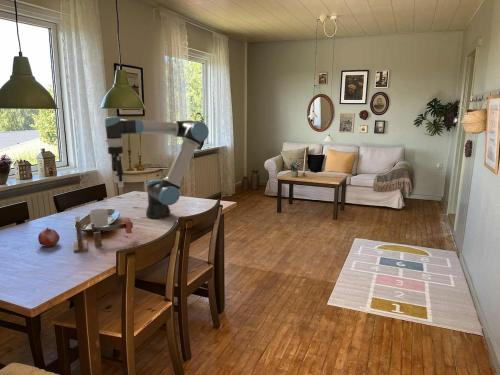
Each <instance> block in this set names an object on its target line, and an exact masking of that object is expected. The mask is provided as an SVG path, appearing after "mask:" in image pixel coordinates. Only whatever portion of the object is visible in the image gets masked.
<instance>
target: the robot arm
mask: <svg viewBox="0 0 500 375" xmlns="http://www.w3.org/2000/svg"><path fill="white" fill-rule="evenodd" d="M104 122H105V123H104V124H105V126H104V127H105V132H106V139H107V140H105V142H106V144H107V153H108V154H109V155H111V169H112V174H113V176H112V177H113V182H114V183H115V184H117V187H118V188H124V170H123V165H122V157H121V156H120V154H123V153H124V149H123V148H124V147H123V138H122V137H123V136H122V135H132V134H133V135H135V134H136V135H138V134H150V135H152V134H153V135H168V136H169V135H170V136H173V137H178V138H182V143H181V145H180V147H179V149H178V151H177V154H176V156H175V158H174V160H173V161H172V163H171V164H172V165H171V166H170V169H169V171H168V173H167V175H166V177H164V178H161V179H160V178H158V179H157V178H156V179H151V180H147V182H146V183H147V184H146V190H147V202H148V203H147V208H146V211H145V217H147V218H149V219H158V220H159V219H164V218H168V217H171V213H172V212H171V210H170V209H171V208H170V206H172V205H173V206H174V204H176V203H177V202H179V199H180V197H181V196H180V195H181V194H180V190H181V187H182V186H181V184H180V183H181V181H182V179H183V176H184V174H185V172H186V170H187V169H188V166H189V164H190V161H191V160H192V157H193V155H194V153H195V151H196V150H197V148H199V147H200V146H201V144H202V142H203V141H206V140H207V138H209V131H210V130H209V128H208V126H207V124H206V123H205V122H203V121H200V120H180V121H179V120H174V121H172V122H170V121H157V120H156V121H155V120H144V119H127V118H126V119H125V118H121V117H120V116H107V117H105V119H104Z"/></svg>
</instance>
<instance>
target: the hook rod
mask: <svg viewBox="0 0 500 375" xmlns="http://www.w3.org/2000/svg"><path fill="white" fill-rule="evenodd" d="M91 227H92V229H91V230H92V231H91V232H92V233H94V232H100V233H102V232H101V231H103V232H108V231H115V230H123V229H124V230H125V233H126V234H132V233H133V232H132V231H133V230H132V229H133V228H134V224H133V221H132V220H131V218H130V217H125V218H124V223H121V224H120V223H119V224H112V225H108V226H102V227H94V223H91V222H90V228H91Z"/></svg>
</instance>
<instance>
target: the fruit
mask: <svg viewBox="0 0 500 375" xmlns="http://www.w3.org/2000/svg"><path fill="white" fill-rule="evenodd" d="M37 239H38V243H39V245H40V246H44V247H46V248H51V247H53V246H55V245H56V244H58V242H60V235H59V233H58V232H57V231H56V230H55V229H52V228H49V227H46V229H44V230H42V231H41V232H39V234H38V238H37Z"/></svg>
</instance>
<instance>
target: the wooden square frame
mask: <svg viewBox="0 0 500 375" xmlns="http://www.w3.org/2000/svg"><path fill="white" fill-rule="evenodd" d="M74 217H75V228H76V230H75V231H76V240H75V241H73V253H82V252H87V251H88V249H89V248H88V241H87V240H86V239H85V240H83V235H82V233H83V232H82V227H81V226H82V225H81V216H74Z"/></svg>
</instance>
